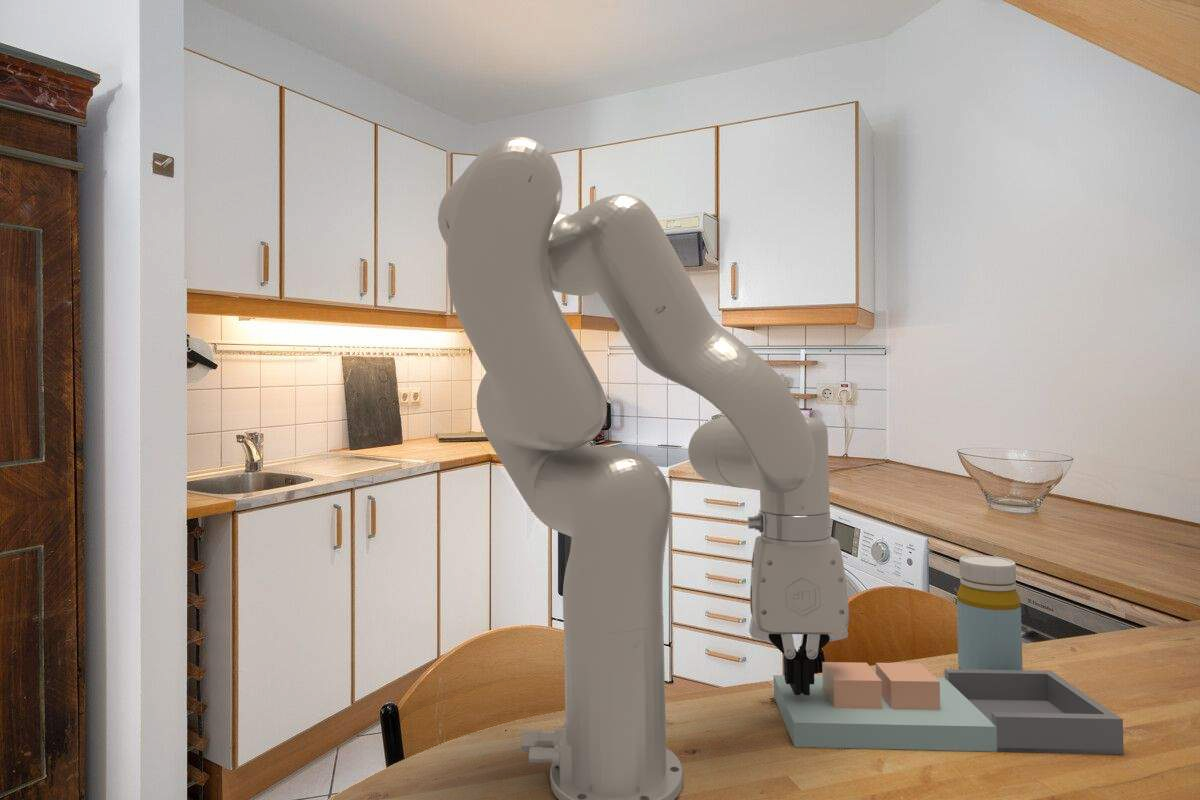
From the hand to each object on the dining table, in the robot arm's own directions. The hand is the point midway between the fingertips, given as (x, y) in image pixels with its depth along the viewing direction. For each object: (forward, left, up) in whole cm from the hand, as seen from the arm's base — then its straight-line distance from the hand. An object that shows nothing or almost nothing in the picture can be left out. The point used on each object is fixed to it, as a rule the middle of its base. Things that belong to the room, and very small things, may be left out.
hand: (799, 689), depth 74 cm
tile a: (+6, 0, -1) cm, 6 cm away
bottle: (+26, +12, -4) cm, 29 cm away
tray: (+24, 0, -3) cm, 24 cm away
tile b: (+12, 0, -1) cm, 12 cm away
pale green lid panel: (+8, 0, -3) cm, 9 cm away
